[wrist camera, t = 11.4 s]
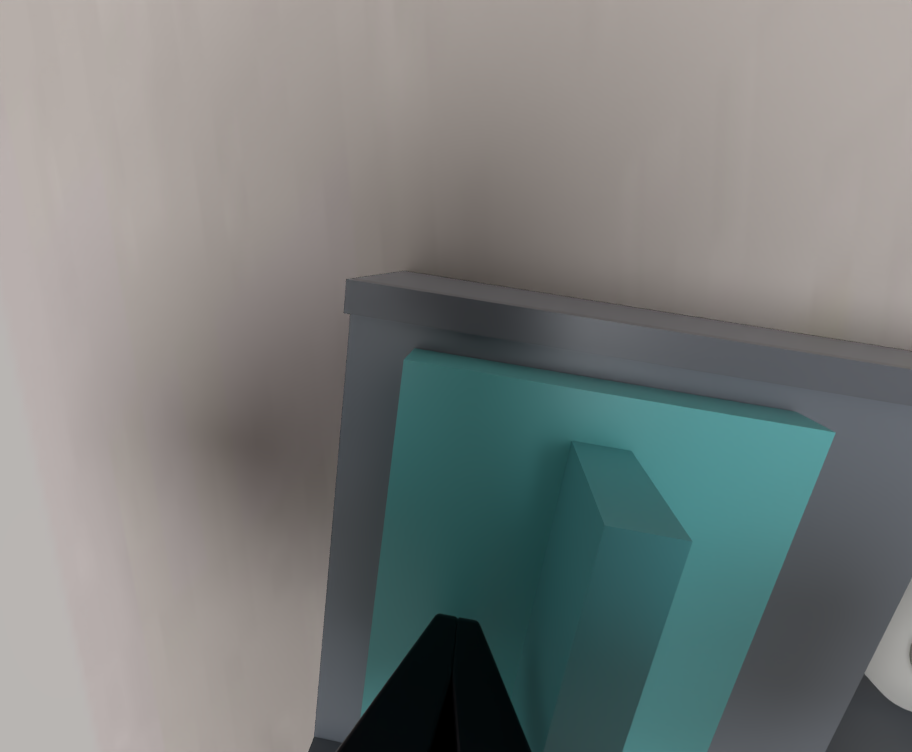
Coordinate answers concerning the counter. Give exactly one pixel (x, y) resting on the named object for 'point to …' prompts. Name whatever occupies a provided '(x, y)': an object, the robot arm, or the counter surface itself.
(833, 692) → the housing
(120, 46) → the counter surface
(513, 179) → the counter surface
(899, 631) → the white hollow cylinder
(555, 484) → the lid
